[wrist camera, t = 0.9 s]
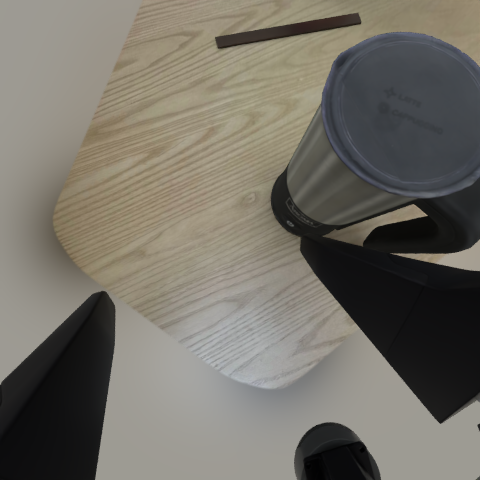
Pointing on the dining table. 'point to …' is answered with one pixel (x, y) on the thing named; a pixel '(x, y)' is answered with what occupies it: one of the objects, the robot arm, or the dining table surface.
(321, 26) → the dark brown strip
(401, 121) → the milk frother
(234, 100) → the dining table surface
